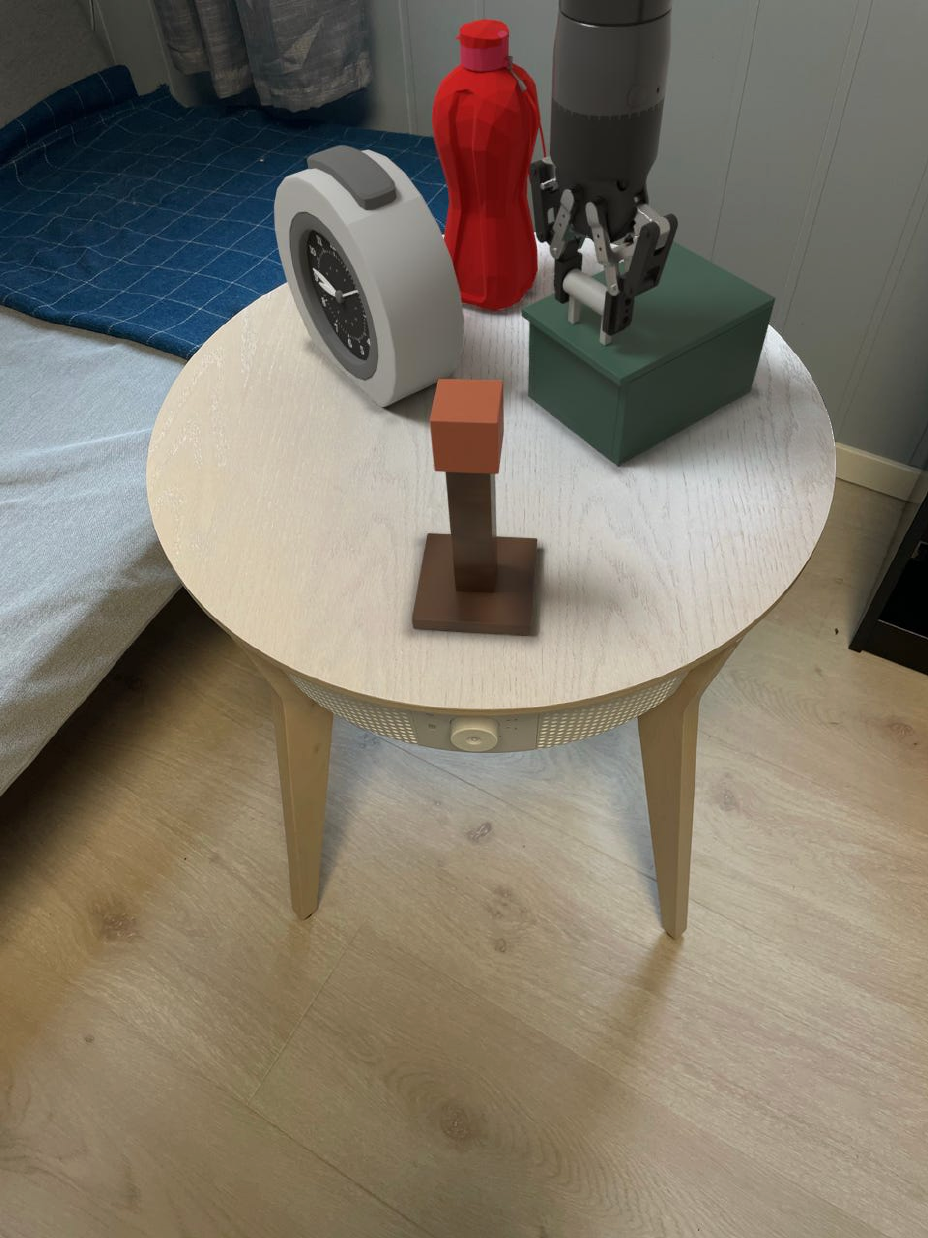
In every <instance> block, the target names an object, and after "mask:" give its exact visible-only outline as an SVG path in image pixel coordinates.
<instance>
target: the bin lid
mask: <svg viewBox="0 0 928 1238" xmlns="http://www.w3.org/2000/svg"><path fill="white" fill-rule="evenodd" d="M619 270H620V275H622V274H624V273H625V267H624V260H622V261H620V262H619ZM563 289H564V291H565V292H566V293H568V294H569V302H567V303H564V304H561V303H560V302H558V301H557V300H556V299H555V292H553V293H551V294H549V295H547V296H545V297H543V298H540V299H538V300H536V301H534V302H532V303H530V304H527V305H525V306H523V307H522V308H521V310H520V313H521V317H522V318H523V319H524V320H526V321H527V322H530V323H532V324H533V325H535V326H536V327H537V328H539V329H540V330H542V331H543V332H544V333H546V334H547V335H549V336H550V337H551V338H553V339H554V340H556V341H557V342H558V343H560V344H561V345H563V346H564V347H565V348H567V349H568V350H570V351H571V352H572V353H574V354H575V355H577V356H578V357H579V358H581V359H582V360H584V361H585V362H586V363H588V364H589V365H591V366H592V367H593V368H595V369H596V370H598V371H599V372H600V373H602V374H603V375H605V376H606V377H607V378H609V379H610V380H612V381H613V382H615V383H616V384H617V385H619V386H623V385H624V384H626V383H628V382H630V381H632V380H634V379H636V378H638V377H640V376H642V375H643V374H645V373H647V372H649V371H651V370H653V369H655V368H657V367H659V366H661V365H662V364H664V363H666V362H668V361H670V360H672V359H674V358H676V357H678V356H680V355H681V354H683V353H685V352H687V351H689V350H691V349H693V348H695V347H697V346H699V345H700V344H702V343H704V342H706V341H708V340H710V339H712V338H714V337H716V336H718V335H719V334H721V333H723V332H725V331H727V330H729V329H731V328H733V327H735V326H736V325H738V324H740V323H742V322H744V321H746V320H748V319H750V318H752V317H754V316H755V315H757V314H759V313H761V312H763V311H765V310H767V309H769V308H771V307H773V308H774V306H775V302H776V299H777V298H776V297H775V296H773V295H771V294H769V293H767V292H766V291H765V290H762V289H760V288H759V287H757V286H755V285H754V284H752V283H749V282H748V281H747V280H744V279H742V278H741V277H739V276H737V275H735V274H734V273H732V272H730V271H728V270H726V269H724V268H722V267H721V266H720V265H718V264H715V263H713V262H712V261H710V260H708V259H707V258H704V257H703V256H702V255H700V254H697V253H696V252H694V251H692V250H690V249H688V248H687V247H685V246H684V245H681V244H680V243H678V242H675V240H673V242H672V245H671V248H670V251H669V254H668V257H667V260H666V263H665V266H664V269H663V273H662V276H661V279H660V282H659V284H658V286H656V287H654V288H652V289H650V290H648V291H646V292H644V293H642V294H640V295H638V296H636V297H635V300H634V308H633V314H632V315H633V316H632V322H631V324H630V325H629V326H627V327H626V328H625V329H624V330H622V331H620V332H618V333H616V334H614V335H612V336H609V335H608V334H606V333H605V332H603V330H602V326H603V315H604V305H605V294H606V291H608V289H607V283H606V278H605V272H604V269H603V270H601V271H599V272H597V273H595V274H592V275H589V274H588V273H586V272H584V271H583V270H582V271H581V270H579V269H573V270H571V271H570V272H569V273H568V274H567V275H566V277H565V278H564V281H563Z"/></svg>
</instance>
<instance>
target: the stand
mask: <svg viewBox="0 0 928 1238" xmlns="http://www.w3.org/2000/svg"><path fill="white" fill-rule="evenodd" d="M444 474H445V483H446V495H447V507H448V518H449V519H448V520H449V531H450V533H440V532H439V533H437V532H436V533H435V532H428V533H426V538H425V544H424V550H423V556H422V562H421V566H420V571H419V577H418V583H417V588H416V593H415V597H414V598H415V599H414V604H413V610H412V613H411V625H412V628H413V629H417V630H418V629H419V630H435V631H448V632H449V631H451V632H467V633H469V632H470V633H483V634H484V633H485V634H500V635H502V634H503V635H516V636H517V635H519V636H520V635H521V636H531V632H532V619H533V607H534V594H535V581H536V580H535V579H536V568H537V555H538V538H537V537H520V536H502V535H501V536H499V535H497V533H498V532H497V498H496V497H497V494H496V493H497V491H496V490H497V489H496V474H488V473H463V472H444Z"/></svg>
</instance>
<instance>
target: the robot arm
mask: <svg viewBox="0 0 928 1238" xmlns="http://www.w3.org/2000/svg"><path fill="white" fill-rule="evenodd" d="M673 1H674V0H558V10H557V21H556V28H555V33H554V41H553V47H552V68H551V69H552V70H551V72H552V73H551V99H550V100H551V103H550V104H551V105H550V129H549V131H550V135H549V155H548V156H547V155H546V157H545V158H544V157H542V158H540V159H538V160H536V161H534V162H531V164H530V167H529V171H530V181H531V184H530V190H531V191H530V192H531V200H532V210H533V218H534V219H533V220H534V231H535V238H536V240H537V241H538V242H539V243H541V244H544V243H546V244H547V245H548V246H549V253H550V256H551V257H552V258H553V259H554V260H553V283H552V284H553V290H554V293H555V299H556V300H557V301H558V302H560V303H561V304H564V303H567V302H569V294H568V293H566V292H565V291H564V289H563V281H564V278H565V277H566V275H567V274H568V273H569V272H570V271H571V270H573V269H579V270H581V271H582V272H583V257H584V254H583V253H581V252H580V251H579V250H581V249H582V248H583V245H584V242H585V240H586V238H587V237H588V238H589V239H590V240H591V241H592V243H593V246H594V251H595V256H596V262H597V264H599V265H600V266H602V267H603V270H604V272H605V278H606V283H607V289H608V291H606V294H605V305H604V315H603V326H602V330H603V332H605V333H606V334H608V335H609V336H612V335H614V334H616V333H618V332H620V331H622V330H624V329H625V328H626V327H627V326H629V325H630V324H631V322H632V316H633V315H632V314H633V308H634V300H635V297H636V296H638V295H640V294H642V293H644V292H646V291H648V290H650V289H652V288H654V287H656V286H658V284H659V282H660V279H661V276H662V273H663V269H664V266H665V263H666V260H667V257H668V254H669V251H670V248H671V245H672V242H673V241H674V240H675V237H676V233H677V231H678V227H679V221H678V218H677V216H676V215H675V214H674V213H668V214H666V215H663V216H661V215H660V214H659V213H658V212H657V211H655V210H654V209H653V208H652V207H651V206H649V205H650V197H649V193H648V188H647V179H648V176H649V175H650V171H651V170H652V167H653V166H654V164H655V162H656V160H657V157H658V153H659V146H660V139H661V137H660V136H661V131H662V130H661V128H662V122H663V114H664V105H665V100H666V99H665V98H666V89H667V83H668V75H669V66H670V59H671V47H672V14H673V13H672V11H673ZM530 181H529V182H530ZM551 209H552V212H553V221H551V222H549V211H550V210H551ZM623 238H624V239H623ZM621 239H623V242H622V243H621V244H619V245H617V246H615V247H613V248H612V245H611V244H613V243H616V242H618V241H619V240H621ZM622 261H624V267H625V273H624V274H622V275H620V270H619V263H620V262H622Z"/></svg>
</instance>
